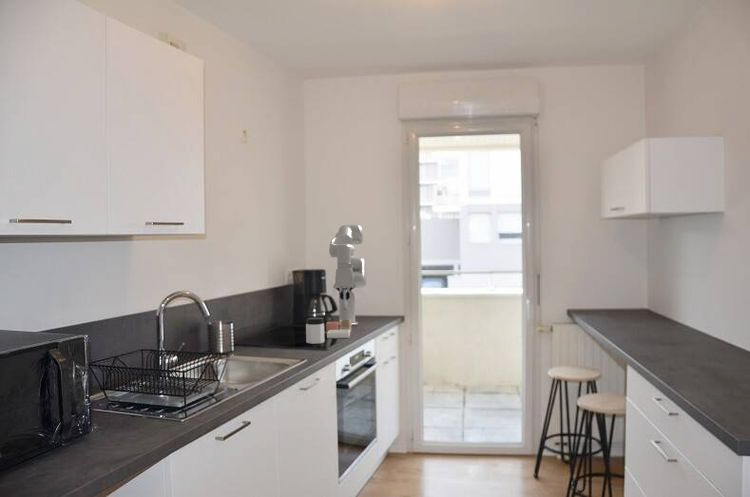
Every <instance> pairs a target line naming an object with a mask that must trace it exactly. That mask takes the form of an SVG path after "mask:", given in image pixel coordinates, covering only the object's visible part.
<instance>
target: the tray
mask: <svg viewBox="0 0 750 497" xmlns="http://www.w3.org/2000/svg"><path fill="white" fill-rule="evenodd" d="M350 336H351V332H350V330H340V329H338V330H329V331H328V332H327V334H326V339H349V338H350Z"/></svg>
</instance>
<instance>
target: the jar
mask: <svg viewBox="0 0 750 497" xmlns="http://www.w3.org/2000/svg"><path fill="white" fill-rule="evenodd" d="M305 335H306V336H305V338H306V341H305V342H306V344H310V345H312V344H313V345H315V344H318V345H319V344H323V343H325V323H324V317H307V318H306V323H305Z"/></svg>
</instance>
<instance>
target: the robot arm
mask: <svg viewBox="0 0 750 497" xmlns="http://www.w3.org/2000/svg"><path fill="white" fill-rule="evenodd" d="M363 242H364V230H363V227H362V226H361V225H360V224H344V225H341V226H340V227H339V228H338V232H336V234H335V237H334V238H332V239H331V241H330V243H329V247H328V248H329V249H328V252H329V256H330V257H331V258H337V259H336V262H337V263H336V265H337V268H336V270H335V277H334V278H335V279H334V280H335V282H334V285H333V289H335V290H337V291H338V308H339V312H338V313H339V315H338V316H339V318H338V319H339V321H337V322H338V326H340V320H351V326H356V325H358V324H359V322H358V321H356V301H355V300H356V298H355V297H356V296H355V293H354V292H353V290H354V289H357V288H358V289H359V288H361V289H362V288H364V287H366V285H367V267H366V266H367V265H366V261H365V259H364V258H363V257H354V254H355V246H354V245H361V244H363ZM342 288H347V308H348V309H347V310H343V293H342Z"/></svg>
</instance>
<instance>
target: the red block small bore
mask: <svg viewBox="0 0 750 497" xmlns="http://www.w3.org/2000/svg"><path fill="white" fill-rule="evenodd" d="M338 322H339V321H327V322H326V325H325V330H326V335H327V332H328V331H329V330H339V325H338Z"/></svg>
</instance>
